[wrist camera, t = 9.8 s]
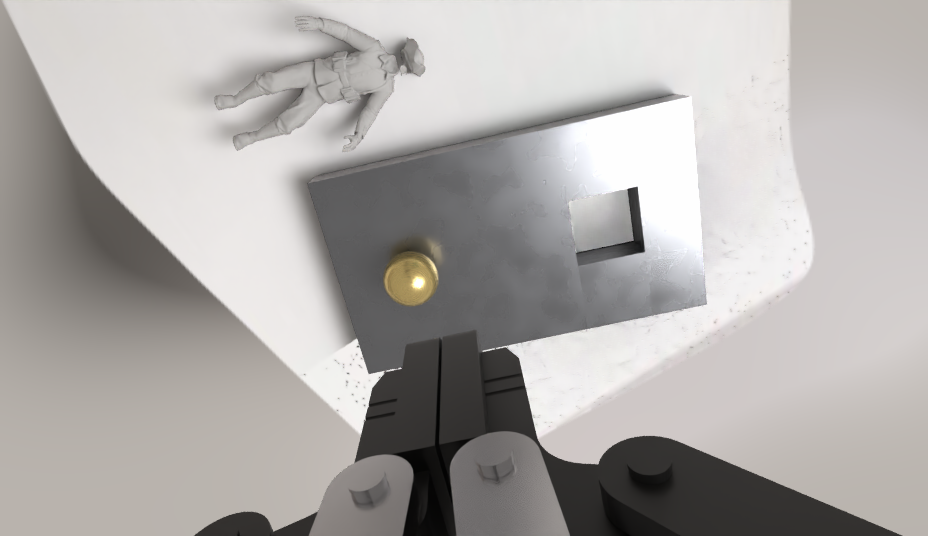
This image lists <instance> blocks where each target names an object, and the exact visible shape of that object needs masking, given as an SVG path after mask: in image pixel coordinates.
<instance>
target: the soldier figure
mask: <svg viewBox="0 0 928 536" xmlns="http://www.w3.org/2000/svg"><path fill="white" fill-rule="evenodd" d="M295 19H296V20H298V21H295V23H307V24H298V25H296V27H307V28H301V29H299V31H307V30H317V29H319V30H320V31H321V32H324V33H326V34H329V35H331V36H333V37H334V38H337V39H340V40H342V41H345V42H346V43H348V44H350V45H351V46H352V47H354V48H356V49H357V50H358V51H355V52H353V53H351V54H349V55H348V53H347V51H342V52H334V55H333V56H330V57H328V58H326V59H321V58H317V59H314V61H313V62H302V63H298V64H295V65H291V66H286V67H284V68H282V69H280V70H278V71H276V72H274V73H273V72H270V71H267V72H265V73H264V74H263V75H259V74H257V75H256V76H255V79H254V80H253V81H252V82H251V83H250V84H249V85H248V86H247V87H245V88H244V89H242V90H241V91H239V93H238V94H237V95H235V96H232V95H218V96H215V99H214V101H215V105H216V107H217V109H218V110H222V109H225V108H234V107H237V106H238V105H241V104H242V103H244V102H245V101H246V100H248V99H252V98H256V97H259V96H262V95H264V94H265V95H269V94H270V93H271V94H275V93H277V92H279V91H284V90H287V89H293V88H302V87H304V88H303V89H302V92H301V94H300V95H299V97H298V98H297V99H296V100H295V101H294V102H293V103H292V104H291V105H290V106H289V107H288V108H287V110H286V111H284V112H282V113H281V114H280V115H279V117H277V118H275V119H274V121H271V122H270V123H268V124H266V125H265V126H263V127H262V128H261V129H260V130H258V131H253V132H251V133H250V132H246V133H242V134H238V135H236V136H234V137H233V143H234V146H235V148H236V150H237V151H238V150H240V149H242V148H244V147H245V146H247V145H249V144H252V143H254V142H256V141H260V140H264V139H267V138H271V137H275V136H280V135H283V134H290V133H291V131H292V130H294V129H295V128H299V127H301V126H303V125H304V124H305V123H306V122H307V121H308V120H309V119H310V118H311V117H312V116H313V115H314V114H315V113H316V111H317V110H318V109H319V108H320V107H321V106H322V105H323V104H324V103H325V102H327V103H328V104H331V103H334V102H336V101H338V100H342V99H345V101H346V102H347V103H352V102H355V101H358V100H361V98H360V97H361V96H360V95H361V94H363V95H366V94H367V93H372V94H371V95H370V97H369V99H368V101H367V104H366V106H365V107H364V109H363V110H362V112H361V113H360V116H359V119H358V122H357V126H356V130H355V133H354V134H355V135H352V136H351V135H349V136H345V137H344V138H349V139H350V141H351V143H349V144H348V145H345V146H343V148H344V149H343V151H342V152H348V151H350V150H353V149H354V148H356V146H357V145H358V144H359V143H360V141H361V140H362V139H363V138H364V136H365V135H366V133H367V131H368V129H369V128H370V126H371V125H372V123H373V122H374V120H375V119H376V116H377V114H378V112H379V110H380V109H381V108H382V106H383V104H384V103H385V102H386V101H387V99H388V98H389V97H390V95H391V94H392V92H394V76H395V75H396V74H398V72H399V68H398V65H397V62H396V58H395V56H394V55H391V54H387V52H385V49H384V47H383V46H382V45H381V43H380V42H379V40H375V39H374V38H372V37H369V36H367V35H366V34H363V33H361V32H359V31H357V30H355V29H352V28H350V27H349V26H347V25H346V24H343V23H338V22H336V21H333V20H329V19H323V18H313V17H310V16H306V17H305V16H301V17H295ZM299 19H300V20H299ZM401 58H402V61H403V64H404V65H402V66H401V67H400V72H401V75H402V74H404V73H406V72H407V73H415V74H417V75H418V76H421V75H422V74H423V73H424V71H425V66H424V57H423V54H422V52H421V50H420V49H419V48H418V44H417V42H416V41H415V40H414V39H409V38H408V37H407V41H406V45H405V47H404V49H402V50H401Z"/></svg>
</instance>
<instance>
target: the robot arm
mask: <svg viewBox="0 0 928 536" xmlns="http://www.w3.org/2000/svg"><path fill="white" fill-rule="evenodd" d="M365 418H366V421H365V422H364V426H363V430H362V434H361V438H360V442H359V446H358V451H357V455H356V459H355V463H354V464H352V465H350V466H348V467H347V468H346V469H344V470H343V471H342V472H340V473H339V474H338V475H337V476H336V478H334V479H333V481H332V482H331V483H330V485H329V486H328V488H327V490H326V492H325V495H324V498H323V500H322V503H321V505H320V508H319V510H318V512H316V513H314V514H312V515H310V516H308V517H306V518H304V519H302V520H299V521H297V522H295V523H292V524H290V525H288V526H286V527H283V528H281V529H279V530H277V531H274V532H273V529H272V527H271V525H270V523H269V521H268V519H267V518H266V517H265V516H263V515H262V514H259V513H256V512H241V513H236V514H232V515H229V516H226V517H224V518H222V519H219V520H217V521H216V522H214V523H212V524H210V525H208V526H207V527H205V528H204V529H202V530H201V531H200V532H198V533H197V534H196V535H195V536H902V535H899V534H897V533H894V532H892V531H890V530H887V529H885V528H883V527H880V526H878V525H875V524H873V523H871V522H868V521H866V520H864V519H861V518H859V517H856V516H854V515H852V514H849V513H847V512H845V511H842V510H840V509H837V508H835V507H833V506H830V505H828V504H825V503H823V502H821V501H818V500H816V499H814V498H811V497H809V496H807V495H804V494H801V493H799V492H797V491H795V490H792V489H790V488H787V487H785V486H783V485H780V484H778V483H776V482H773V481H771V480H768V479H766V478H764V477H761V476H759V475H757V474H754V473H752V472H749V471H747V470H745V469H742V468H740V467H737V466H735V465H733V464H730V463H728V462H725V461H723V460H721V459H718V458H716V457H713V456H711V455H709V454H706V453H704V452H702V451H699V450H697V449H695V448H692V447H689V446H687V445H685V444H683V443H680V442H678V441H675V440H672V439H669V438H663V437H657V436H640V437H634V438H629V439H626V440H624V441H621V442H619V443H617V444H615V445H613V446H612V447H611V448H609V449H608V450H607V451H606V452H605V453H604V454H603V456H602V457H601V459H600V461H599V464H598V465H596V464H581V463H573V462H568V461H564V460H562V459H559V458H557V457H555V456H553V455H551V454H549V453H548V452H547V451H546V450H545V449H544V448H543V447H542V446H541V445H540V443H539V441H538V439H537V436H536V431H535V427H534V423H533V418H532V414H531V409H530V405H529V401H528V396H527V392H526V388H525V383H524V379H523V374H522V370H521V366H520V361H519V358H518V357H517V356H516V355H515V354H513V353H512V352H511V351H510V350H508V349H507V348H506V347H505V348H500V349H495V350H491V351H486V352H482V347H481V343H480V339H479V335H478V332H477V330H472V331H467V332H462V333H458V334H453V335H448V336H443V338H442V339H441V337H439V338H434V339H429V340H424V341H420V342H415V343H410V344H406V347H405V354H404V360H403V366H402V369H399V370H394V371H389V372H385V374H384V375H383V376H382V377H381V378H380V380H379V381H378V382H377V383H376V385H375V386H374V387H373V388H372V392H371V397H370V401H369V407H368V409H367V413H366V417H365Z"/></svg>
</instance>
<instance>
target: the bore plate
mask: <svg viewBox="0 0 928 536" xmlns="http://www.w3.org/2000/svg"><path fill="white" fill-rule="evenodd" d="M307 184H308V187H309V190H310V194H311V197H312V200H313V203H314V206H315V209H316V212H317V215H318V218H319V221H320V224H321V228H322V231H323V234H324V237H325V240H326V243H327V246H328V249H329V252H330V255H331V259H332V262H333V265H334V268H335V271H336V274H337V277H338V280H339V283H340V286H341V290H342V293H343V296H344V299H345V302H346V305H347V308H348V311H349V314H350V317H351V321H352V324H353V327H354V330H355V333H356V336H357V339H358V342H359V345H360V348H361V352H362V355H363V358H364V361H365V364H366V367H367V370H368V373H369V374H371V373H376V372H381V371H386V370H390V369H395V368H400V367H402V366H403V360H404V354H405V347H406V344H410V343H415V342H420V341H424V340H429V339H434V338H439V337H441V339H442V338H443V336H448V335H453V334H458V333H462V332H467V331H472V330H477V332H478V335H479V339H480V343H481V347H482V351H483V350H488V349H492V348H497V347H502V346H507V345H512V344H517V343H522V342H526V341H531V340H536V339H541V338H546V337H551V336H556V335H560V334H565V333H570V332H575V331H580V330H585V329H590V328H594V327H599V326H604V325H609V324H614V323H619V322H623V321H628V320H633V319H638V318H643V317H648V316H653V315H657V314H662V313H667V312H672V311H677V310H682V309H687V308H691V307H696V306H701V305H706V304H707V301H706V288H705V274H704V261H703V248H702V234H701V221H700V207H699V194H698V181H697V167H696V154H695V140H694V127H693V114H692V100H691V96H685V95H678V94H674V95H670V96H665V97H661V98H656V99H652V100H648V101H643V102H639V103H634V104H630V105H626V106H621V107H617V108H612V109H608V110H604V111H599V112H595V113H590V114H586V115H582V116H577V117H573V118H568V119H564V120H560V121H555V122H551V123H546V124H542V125H538V126H533V127H529V128H524V129H520V130H516V131H511V132H507V133H503V134H498V135H494V136H489V137H485V138H481V139H476V140H472V141H467V142H463V143H459V144H454V145H450V146H445V147H441V148H437V149H432V150H428V151H423V152H419V153H415V154H410V155H406V156H401V157H397V158H393V159H388V160H384V161H379V162H375V163H371V164H366V165H362V166H357V167H353V168H349V169H344V170H340V171H335V172H331V173H327V174H322V175H318V176H316V177H314V178H313V179H312V180H311V181H310V182H308V183H307ZM623 189H628V198H629V206H630V214H631V223H632V231H633V239H634V241H629V242H625V243H620V244H615V245H611V246H606V247H601V248H597V249H592V250H587V251H583V252H578V253H576V251H575V244H574V238H573V232H572V225H571V219H570V213H569V207H568V201H573V200H578V199H582V198H587V197H591V196H596V195H600V194H605V193H610V192H614V191H619V190H623ZM407 251H415V252H419V253H422V254H424V255H426V256H427V257H429V258H430V259H431V260H432V261H433V263H434V264H435V266H436V268H437V271H438V276H439V281H438V286H437V289H436V292H435V293H434V295H433V296H432V297H431V298H430V299H429V300H428V301H427V302H425V303H423V304H421V305H418V306H403V305H400V304H398V303H396V302H395V301H394V300H392V299H391V298H390V297H389V295H388V294H387V292H386V290H385V288H384V283H383V274H384V270H385V268H386V266H387V264H388V263H389V261H390V260H391V259H392V258H393V257H395V256H396V255H398V254H400V253H403V252H407Z"/></svg>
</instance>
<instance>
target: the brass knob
mask: <svg viewBox="0 0 928 536" xmlns="http://www.w3.org/2000/svg"><path fill="white" fill-rule="evenodd" d="M438 281H439V276H438V271H437V268H436V266H435V264H434V263H433V261H432V260H431V259H430V258H429V257H427V256H426V255H424V254H422V253H419V252H415V251H407V252H403V253H400V254H398V255H396V256H395V257H393V258H392V259H391V260H390V261H389V263H388V264H387V266H386V268H385V270H384V274H383V283H384V288H385V290H386V292H387V294H388V295H389V297H390V298H391V299H392V300H394V301H395V302H396V303H398V304H400V305H403V306H418V305H421V304H423V303H425V302H427V301H428V300H429V299H430V298H431V297H432V296H433V295H434V293H435V292H436V289H437V286H438Z"/></svg>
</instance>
